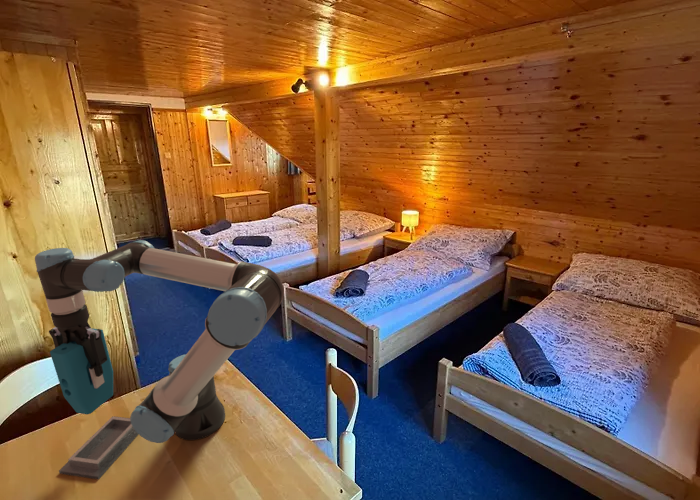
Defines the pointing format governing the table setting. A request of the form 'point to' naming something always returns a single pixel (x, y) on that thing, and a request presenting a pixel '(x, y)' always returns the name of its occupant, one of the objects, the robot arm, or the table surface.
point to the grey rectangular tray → (101, 449)
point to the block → (81, 377)
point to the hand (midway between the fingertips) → (89, 383)
